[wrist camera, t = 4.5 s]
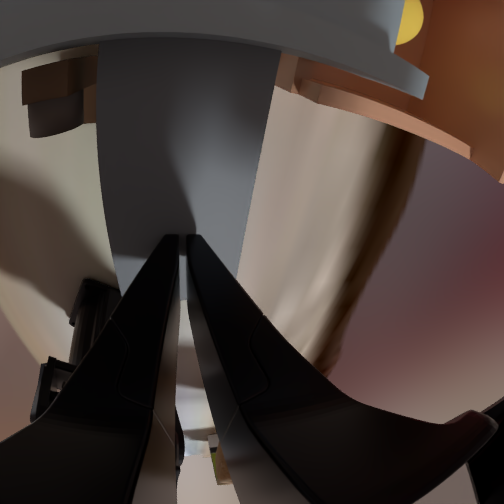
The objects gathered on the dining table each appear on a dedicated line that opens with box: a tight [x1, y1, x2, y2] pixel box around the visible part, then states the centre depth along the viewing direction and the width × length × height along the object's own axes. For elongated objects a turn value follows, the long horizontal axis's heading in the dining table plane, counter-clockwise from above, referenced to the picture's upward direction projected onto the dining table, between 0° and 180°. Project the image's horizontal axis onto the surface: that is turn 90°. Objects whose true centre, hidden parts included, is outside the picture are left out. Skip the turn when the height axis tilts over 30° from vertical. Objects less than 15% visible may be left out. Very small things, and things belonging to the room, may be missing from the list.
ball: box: [396, 0, 424, 45], centre depth 7 cm, size 4×4×4 cm
